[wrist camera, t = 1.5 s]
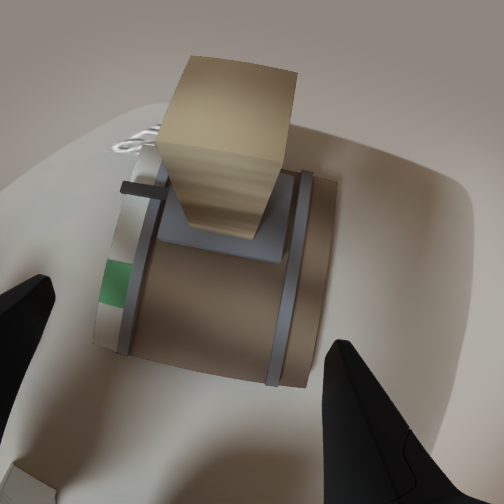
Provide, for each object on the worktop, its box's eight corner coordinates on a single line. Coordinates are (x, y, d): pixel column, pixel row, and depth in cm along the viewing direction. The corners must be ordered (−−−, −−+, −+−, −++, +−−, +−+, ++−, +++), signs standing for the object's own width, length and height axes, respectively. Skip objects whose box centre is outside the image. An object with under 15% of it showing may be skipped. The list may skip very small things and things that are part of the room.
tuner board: (300, 383, 21) (308, 390, 19) (100, 341, 20) (89, 344, 18) (331, 189, 24) (340, 179, 22) (147, 154, 23) (141, 141, 21)
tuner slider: (278, 264, 20) (343, 208, 9) (113, 231, 20) (17, 155, 8) (291, 181, 21) (349, 70, 10) (138, 154, 21) (82, 41, 9)
